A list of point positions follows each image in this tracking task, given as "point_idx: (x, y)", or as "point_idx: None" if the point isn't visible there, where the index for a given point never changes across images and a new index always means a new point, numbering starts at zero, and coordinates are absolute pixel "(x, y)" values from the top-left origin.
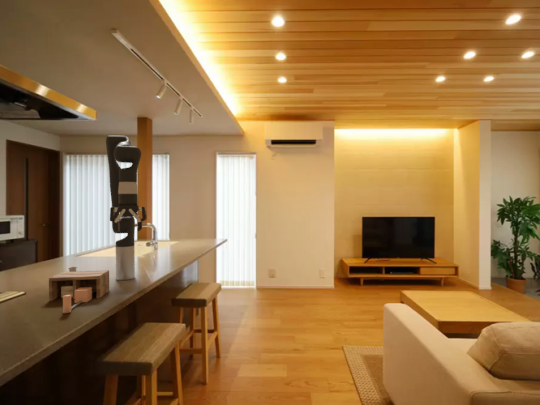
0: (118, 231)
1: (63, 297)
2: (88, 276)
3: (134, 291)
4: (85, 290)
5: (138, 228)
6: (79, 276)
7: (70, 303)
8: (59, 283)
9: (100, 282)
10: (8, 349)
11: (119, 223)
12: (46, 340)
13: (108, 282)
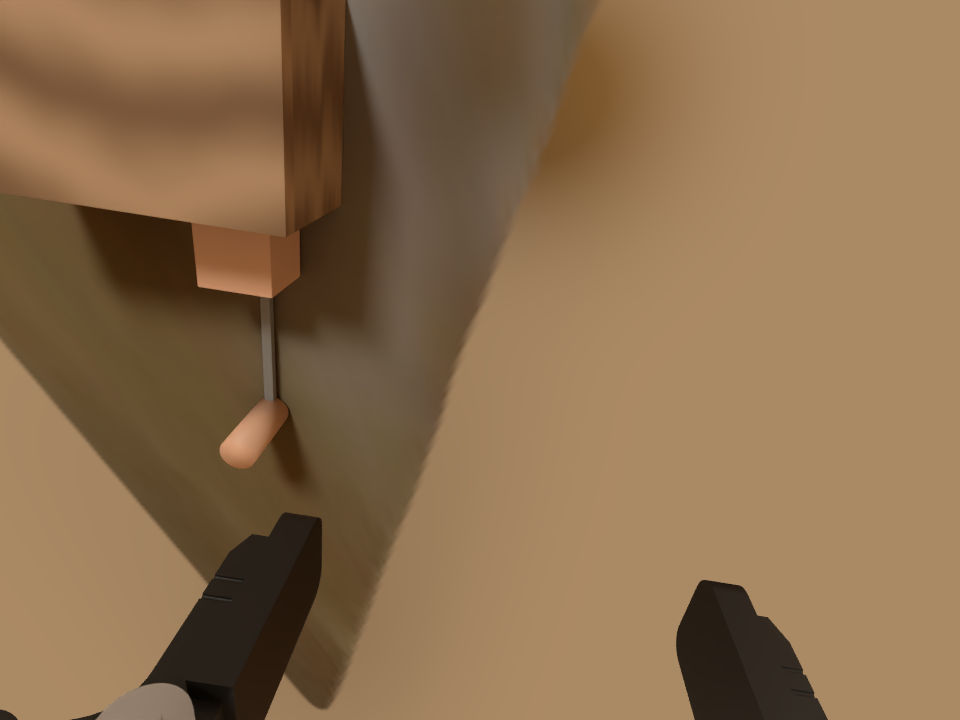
0: (320, 572)
1: (230, 461)
2: (204, 224)
3: (537, 92)
4: (262, 295)
5: (701, 694)
6: (129, 197)
7: (271, 437)
8: None
9: (306, 204)
10: None
11: (245, 675)
12: (332, 623)
13: (322, 2)
